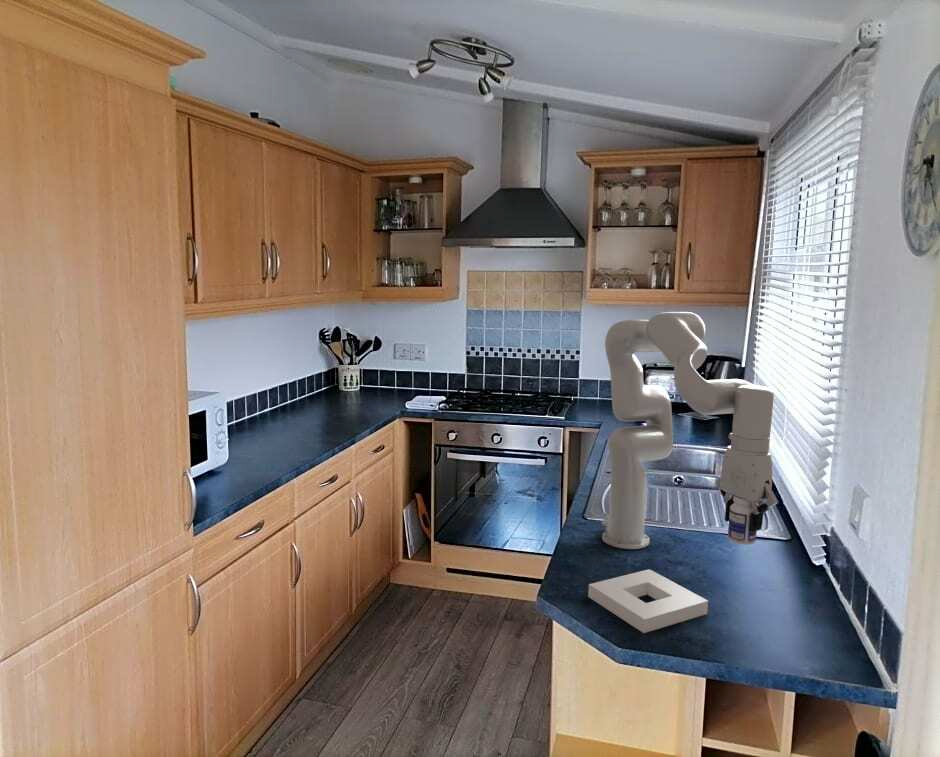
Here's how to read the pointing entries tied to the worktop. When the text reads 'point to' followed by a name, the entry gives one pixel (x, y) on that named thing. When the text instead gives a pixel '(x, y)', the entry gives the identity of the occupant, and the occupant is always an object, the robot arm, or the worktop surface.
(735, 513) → the pill bottle
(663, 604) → the socket block
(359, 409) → the worktop surface
